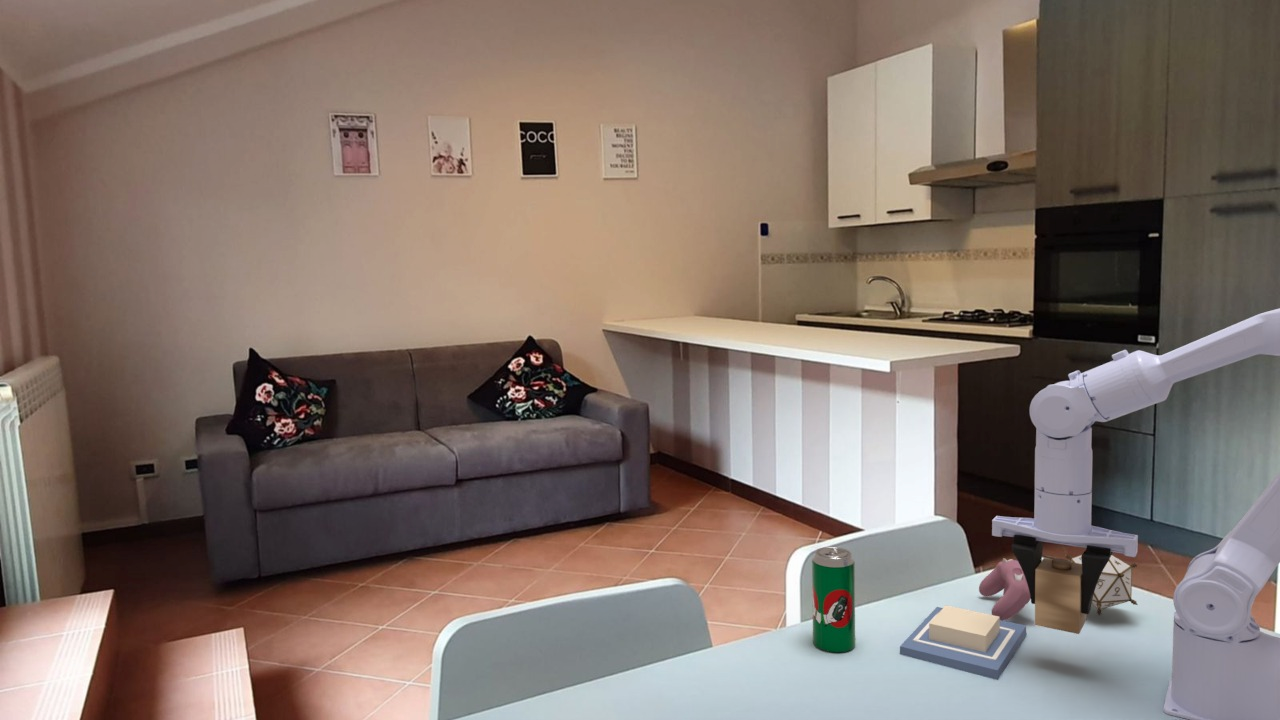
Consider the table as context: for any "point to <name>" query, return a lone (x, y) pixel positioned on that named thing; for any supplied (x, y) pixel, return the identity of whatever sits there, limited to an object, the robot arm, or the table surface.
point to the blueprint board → (963, 658)
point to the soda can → (833, 599)
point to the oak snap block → (1059, 595)
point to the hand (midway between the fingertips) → (1060, 606)
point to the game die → (1111, 583)
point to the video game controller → (1006, 588)
